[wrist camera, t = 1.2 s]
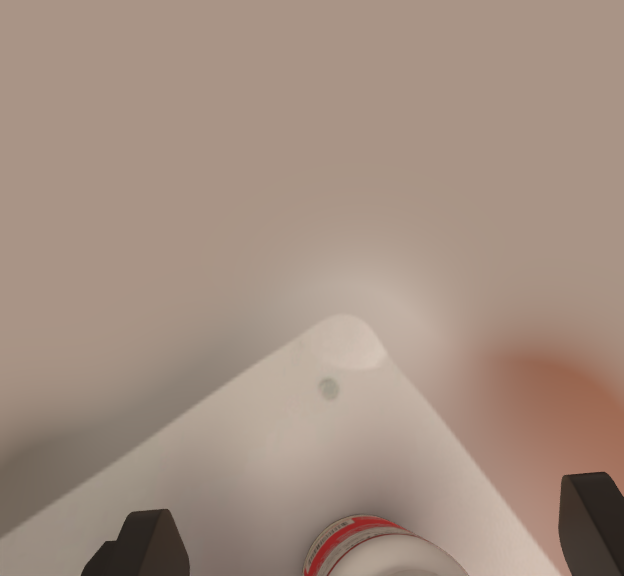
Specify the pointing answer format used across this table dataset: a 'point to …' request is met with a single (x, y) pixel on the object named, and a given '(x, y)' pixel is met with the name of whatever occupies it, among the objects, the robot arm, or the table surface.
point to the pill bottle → (376, 551)
